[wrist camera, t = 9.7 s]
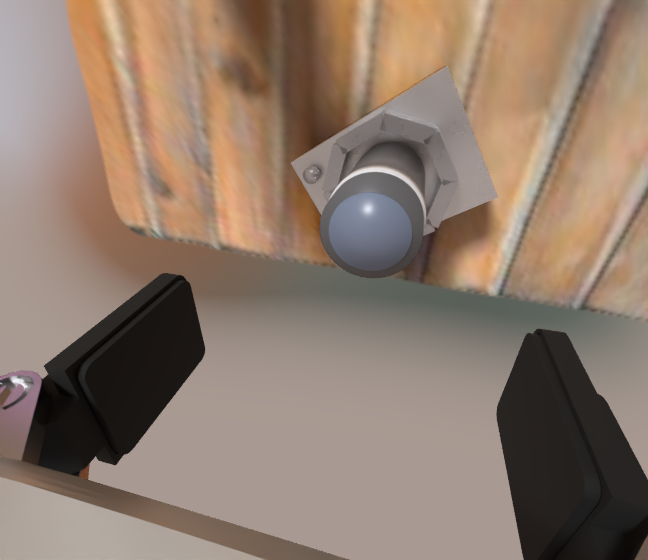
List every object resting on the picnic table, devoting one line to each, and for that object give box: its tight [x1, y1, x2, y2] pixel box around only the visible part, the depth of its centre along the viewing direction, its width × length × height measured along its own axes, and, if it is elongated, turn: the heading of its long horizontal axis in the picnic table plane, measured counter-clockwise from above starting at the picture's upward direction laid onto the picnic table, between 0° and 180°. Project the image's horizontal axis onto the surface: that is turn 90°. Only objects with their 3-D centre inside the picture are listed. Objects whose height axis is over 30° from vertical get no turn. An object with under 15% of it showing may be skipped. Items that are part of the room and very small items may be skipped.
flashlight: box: [320, 142, 426, 278], centre depth 21 cm, size 5×5×10 cm
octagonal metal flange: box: [291, 66, 498, 236], centre depth 26 cm, size 12×9×7 cm
